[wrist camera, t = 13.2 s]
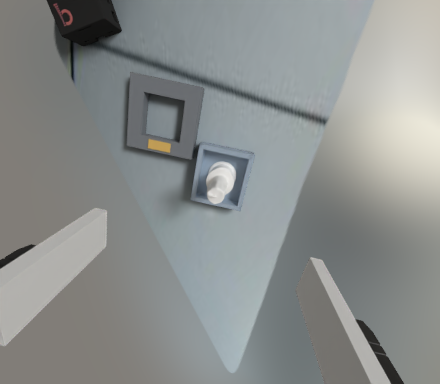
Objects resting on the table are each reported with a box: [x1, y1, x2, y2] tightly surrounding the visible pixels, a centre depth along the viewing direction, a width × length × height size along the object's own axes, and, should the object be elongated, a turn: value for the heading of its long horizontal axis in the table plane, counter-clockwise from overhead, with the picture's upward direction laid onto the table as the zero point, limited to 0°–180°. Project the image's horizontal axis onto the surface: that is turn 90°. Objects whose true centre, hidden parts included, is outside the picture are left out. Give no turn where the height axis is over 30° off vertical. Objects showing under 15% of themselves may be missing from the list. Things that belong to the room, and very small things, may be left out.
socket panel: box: [127, 72, 204, 160], centre depth 37 cm, size 12×12×2 cm
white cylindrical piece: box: [206, 161, 236, 204], centre depth 34 cm, size 5×5×12 cm
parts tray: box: [190, 142, 255, 211], centre depth 39 cm, size 11×10×3 cm
